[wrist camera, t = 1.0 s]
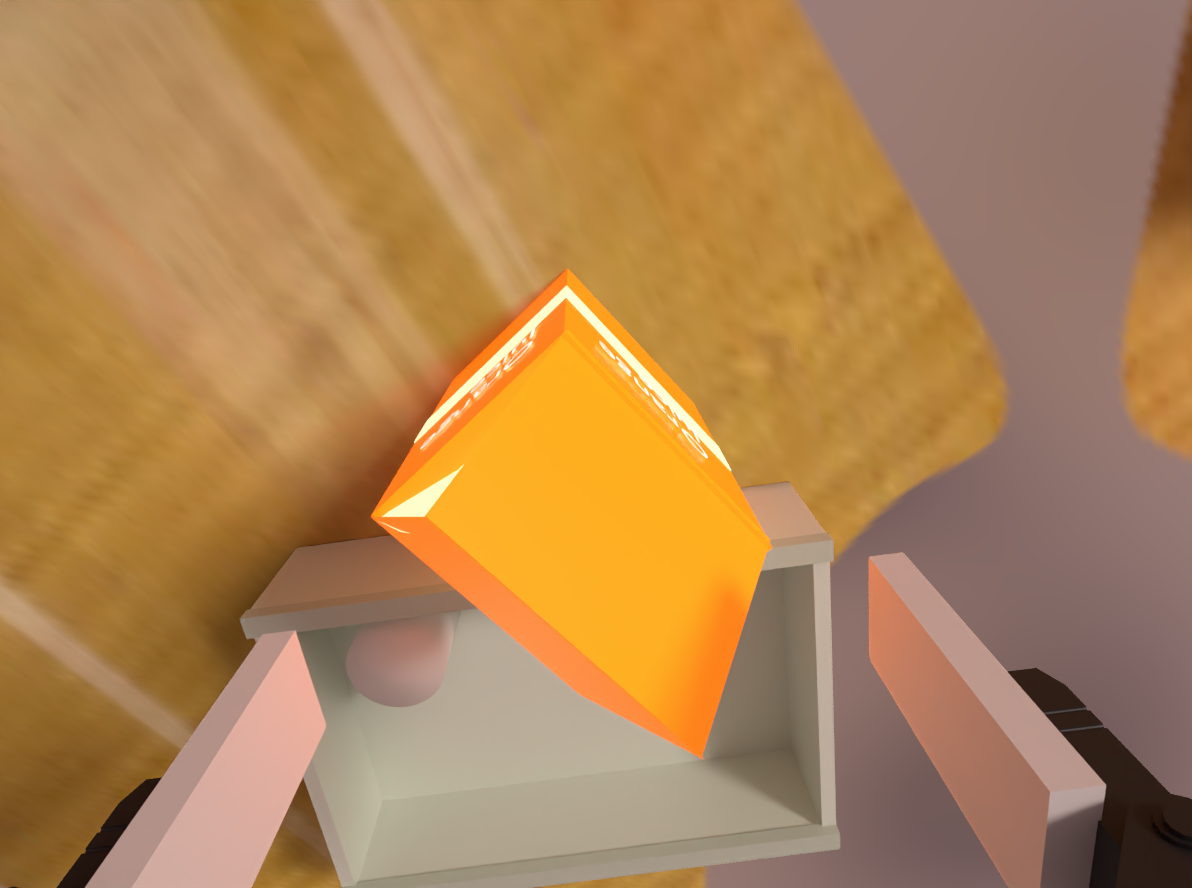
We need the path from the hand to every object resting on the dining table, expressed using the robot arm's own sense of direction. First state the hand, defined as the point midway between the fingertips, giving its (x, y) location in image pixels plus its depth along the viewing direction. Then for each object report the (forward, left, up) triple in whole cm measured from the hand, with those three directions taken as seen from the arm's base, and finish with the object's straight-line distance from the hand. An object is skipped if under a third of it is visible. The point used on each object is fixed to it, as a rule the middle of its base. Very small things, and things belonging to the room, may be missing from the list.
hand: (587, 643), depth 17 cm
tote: (-3, -14, -19) cm, 24 cm away
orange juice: (0, +1, -19) cm, 19 cm away
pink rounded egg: (-10, -9, -18) cm, 23 cm away
